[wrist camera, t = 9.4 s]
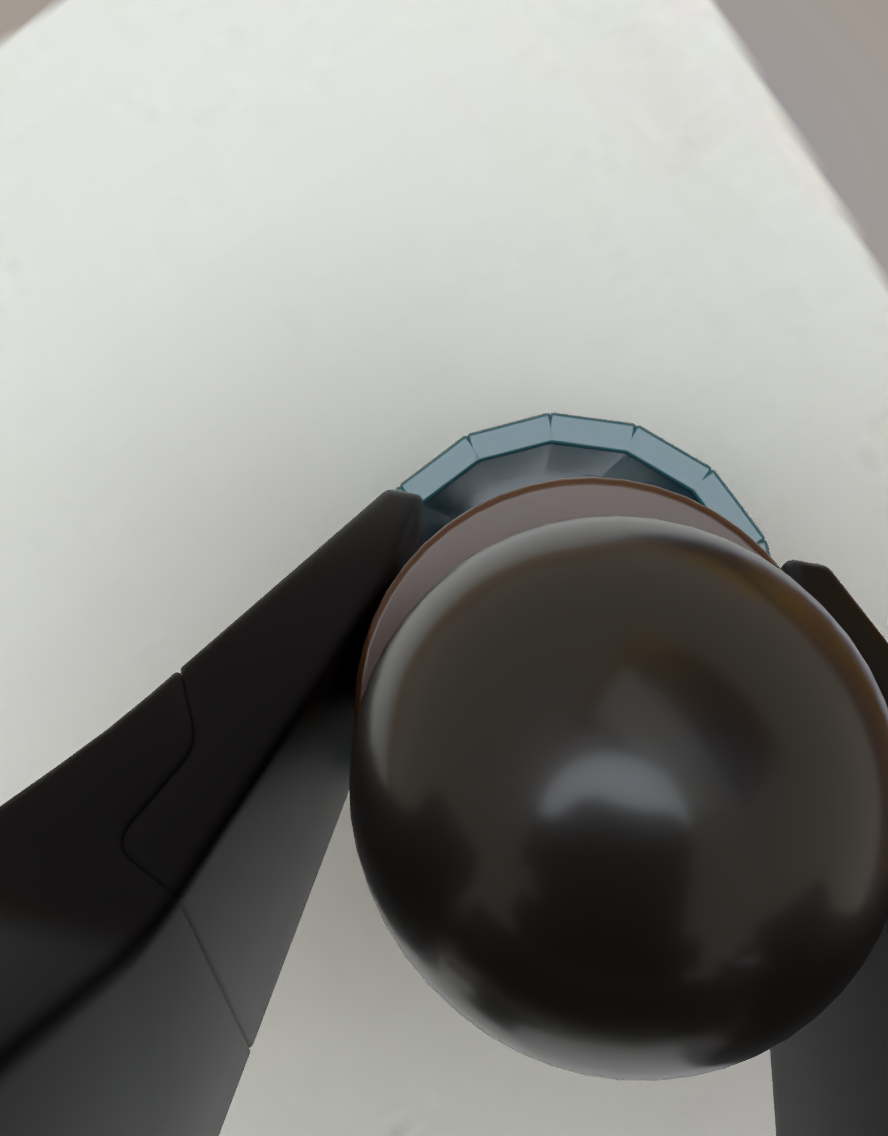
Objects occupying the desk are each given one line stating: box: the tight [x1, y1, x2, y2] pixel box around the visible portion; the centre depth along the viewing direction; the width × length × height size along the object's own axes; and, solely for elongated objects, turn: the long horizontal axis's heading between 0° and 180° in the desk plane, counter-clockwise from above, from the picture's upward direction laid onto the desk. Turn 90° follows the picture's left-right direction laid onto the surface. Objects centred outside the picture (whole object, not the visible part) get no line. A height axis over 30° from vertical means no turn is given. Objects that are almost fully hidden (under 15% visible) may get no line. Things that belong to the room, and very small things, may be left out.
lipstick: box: [349, 477, 888, 1081], centre depth 10 cm, size 4×4×12 cm
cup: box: [396, 413, 771, 557], centre depth 16 cm, size 7×7×5 cm
